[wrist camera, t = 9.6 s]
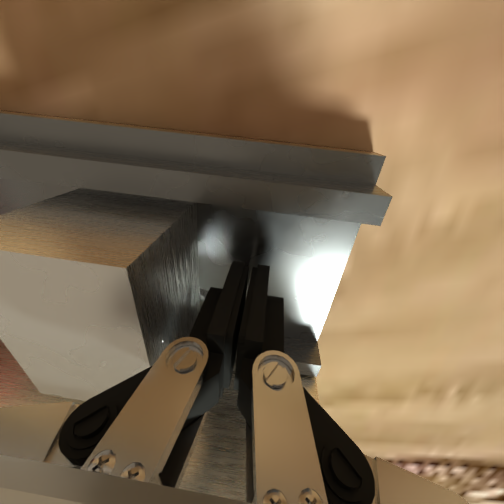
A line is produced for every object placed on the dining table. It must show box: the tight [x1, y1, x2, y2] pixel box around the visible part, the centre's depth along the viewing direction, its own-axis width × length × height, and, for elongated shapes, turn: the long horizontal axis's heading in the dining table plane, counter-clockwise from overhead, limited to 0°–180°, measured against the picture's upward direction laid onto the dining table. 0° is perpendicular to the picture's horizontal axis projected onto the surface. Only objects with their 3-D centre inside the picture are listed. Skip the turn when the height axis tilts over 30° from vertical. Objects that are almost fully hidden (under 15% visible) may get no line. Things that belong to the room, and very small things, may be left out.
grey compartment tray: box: [0, 111, 392, 502], centre depth 9 cm, size 26×12×9 cm, turn 85°
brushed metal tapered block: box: [0, 188, 200, 401], centre depth 9 cm, size 6×7×5 cm
